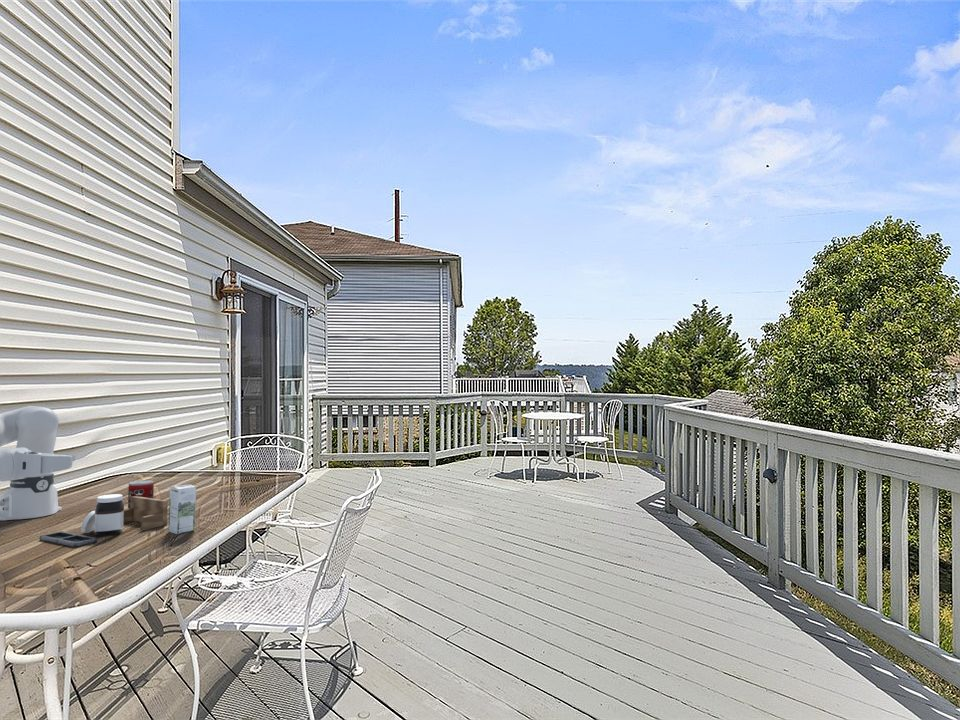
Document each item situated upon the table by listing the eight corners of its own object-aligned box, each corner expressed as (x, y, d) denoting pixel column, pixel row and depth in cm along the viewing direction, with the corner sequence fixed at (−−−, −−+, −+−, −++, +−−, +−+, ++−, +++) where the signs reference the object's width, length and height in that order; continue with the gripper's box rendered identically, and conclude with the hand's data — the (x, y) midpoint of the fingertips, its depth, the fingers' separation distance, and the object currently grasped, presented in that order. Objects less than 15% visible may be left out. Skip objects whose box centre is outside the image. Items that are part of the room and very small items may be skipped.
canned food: (123, 512, 204) (124, 482, 205) (145, 508, 211) (145, 479, 212) (135, 515, 201) (136, 484, 201) (157, 510, 208) (158, 481, 208)
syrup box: (185, 528, 183) (187, 483, 184) (195, 531, 180) (196, 485, 181) (167, 532, 179) (169, 486, 179) (177, 535, 175) (178, 488, 176)
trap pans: (39, 539, 169) (39, 535, 169) (61, 535, 175) (61, 531, 175) (75, 547, 162) (75, 543, 162) (97, 542, 167) (97, 538, 167)
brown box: (111, 524, 188) (111, 500, 188) (134, 519, 195) (134, 496, 196) (144, 530, 181) (144, 505, 181) (166, 524, 188) (167, 500, 189)
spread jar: (122, 535, 175) (123, 497, 175) (78, 540, 169) (79, 501, 170) (124, 526, 185) (125, 491, 186) (82, 531, 180) (84, 494, 180)
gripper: (-4, 472, 161) (50, 465, 173) (37, 477, 152) (90, 470, 165) (-3, 450, 161) (50, 445, 173) (38, 454, 152) (91, 449, 165)
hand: (70, 457), depth 169 cm, fingers closed
